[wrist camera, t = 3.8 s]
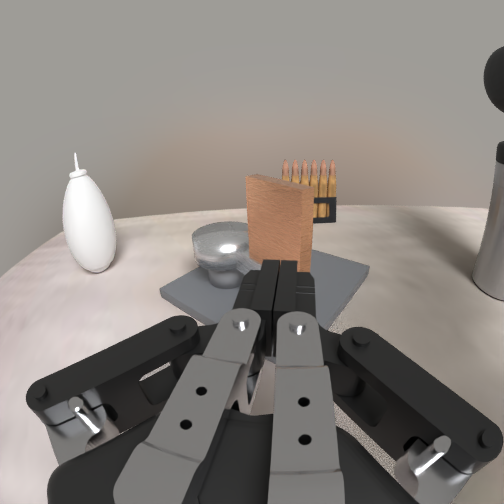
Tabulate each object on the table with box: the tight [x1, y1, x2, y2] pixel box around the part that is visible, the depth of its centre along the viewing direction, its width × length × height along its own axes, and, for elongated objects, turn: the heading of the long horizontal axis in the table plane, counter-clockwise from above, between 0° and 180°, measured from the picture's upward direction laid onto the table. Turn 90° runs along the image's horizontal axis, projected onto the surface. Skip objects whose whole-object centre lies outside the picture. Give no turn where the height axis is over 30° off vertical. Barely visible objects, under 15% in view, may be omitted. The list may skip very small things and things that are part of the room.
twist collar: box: [192, 174, 314, 275], centre depth 26 cm, size 16×7×10 cm, turn 36°
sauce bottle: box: [63, 153, 116, 273], centre depth 34 cm, size 8×8×18 cm
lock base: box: [160, 250, 370, 364], centre depth 32 cm, size 19×18×4 cm
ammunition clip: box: [282, 160, 336, 223], centre depth 50 cm, size 11×2×12 cm, turn 95°
